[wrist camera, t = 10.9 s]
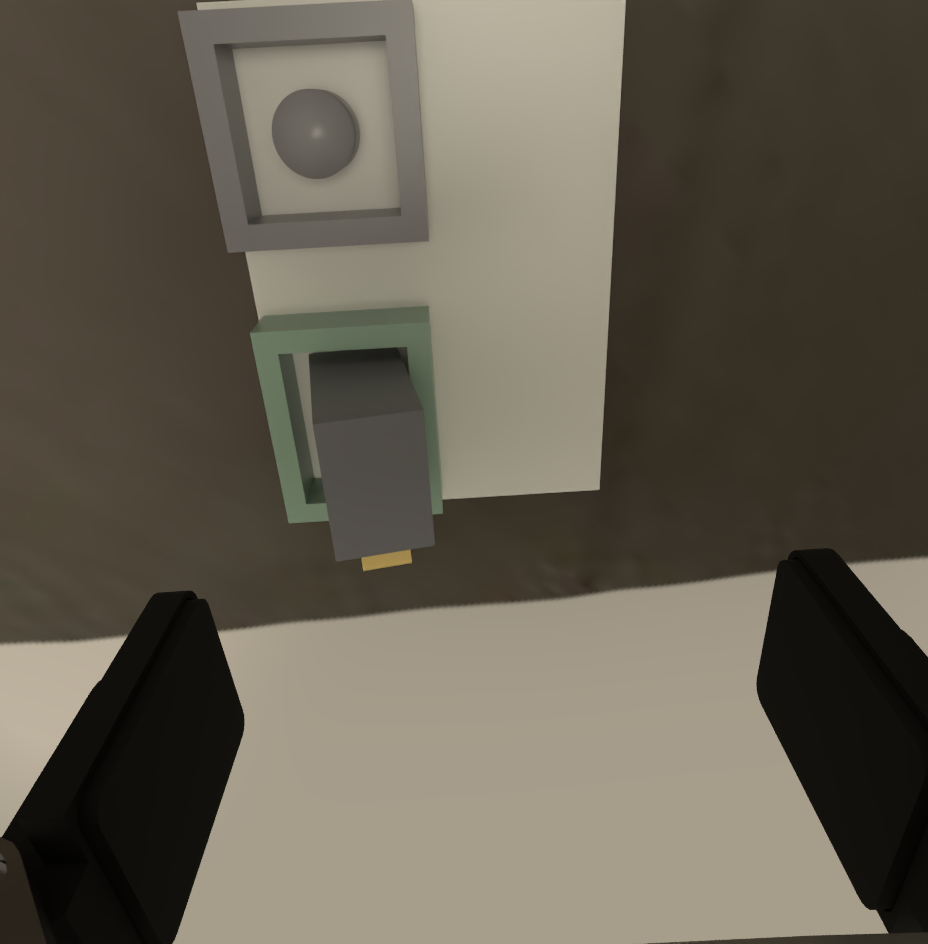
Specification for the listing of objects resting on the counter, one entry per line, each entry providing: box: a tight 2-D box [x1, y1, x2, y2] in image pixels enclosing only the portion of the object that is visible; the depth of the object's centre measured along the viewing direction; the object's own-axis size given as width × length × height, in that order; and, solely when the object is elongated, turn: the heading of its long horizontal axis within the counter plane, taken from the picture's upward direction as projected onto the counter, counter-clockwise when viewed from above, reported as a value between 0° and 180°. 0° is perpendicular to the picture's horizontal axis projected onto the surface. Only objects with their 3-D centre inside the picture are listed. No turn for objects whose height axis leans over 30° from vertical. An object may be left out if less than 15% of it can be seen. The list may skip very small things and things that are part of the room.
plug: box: [309, 347, 435, 571], centre depth 30 cm, size 4×7×8 cm, turn 3°
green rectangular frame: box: [250, 306, 443, 523], centre depth 32 cm, size 8×10×3 cm
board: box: [178, 0, 626, 499], centre depth 30 cm, size 16×22×4 cm
